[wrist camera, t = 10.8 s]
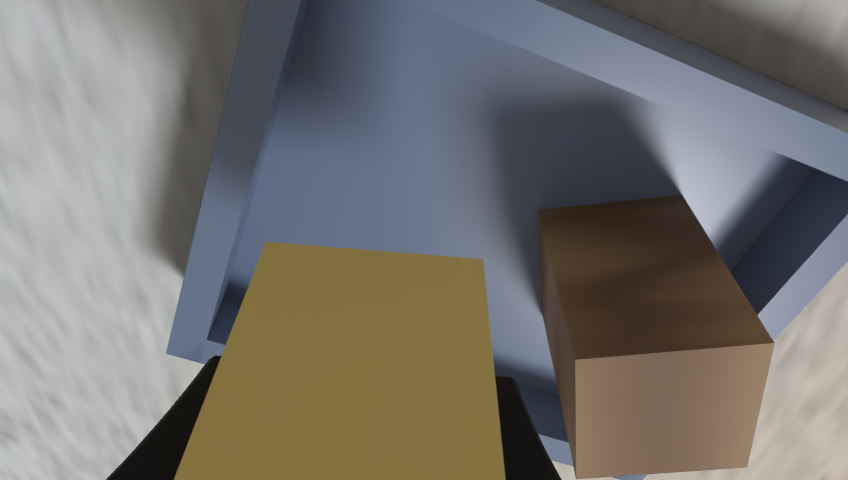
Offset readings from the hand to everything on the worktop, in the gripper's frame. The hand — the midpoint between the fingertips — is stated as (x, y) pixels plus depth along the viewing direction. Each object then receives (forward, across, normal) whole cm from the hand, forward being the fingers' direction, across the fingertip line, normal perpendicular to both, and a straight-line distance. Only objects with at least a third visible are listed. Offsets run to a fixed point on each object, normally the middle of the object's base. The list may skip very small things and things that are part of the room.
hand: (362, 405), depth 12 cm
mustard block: (+2, 0, 0) cm, 2 cm away
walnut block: (+8, -7, +2) cm, 10 cm away
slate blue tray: (+9, -3, +1) cm, 9 cm away
